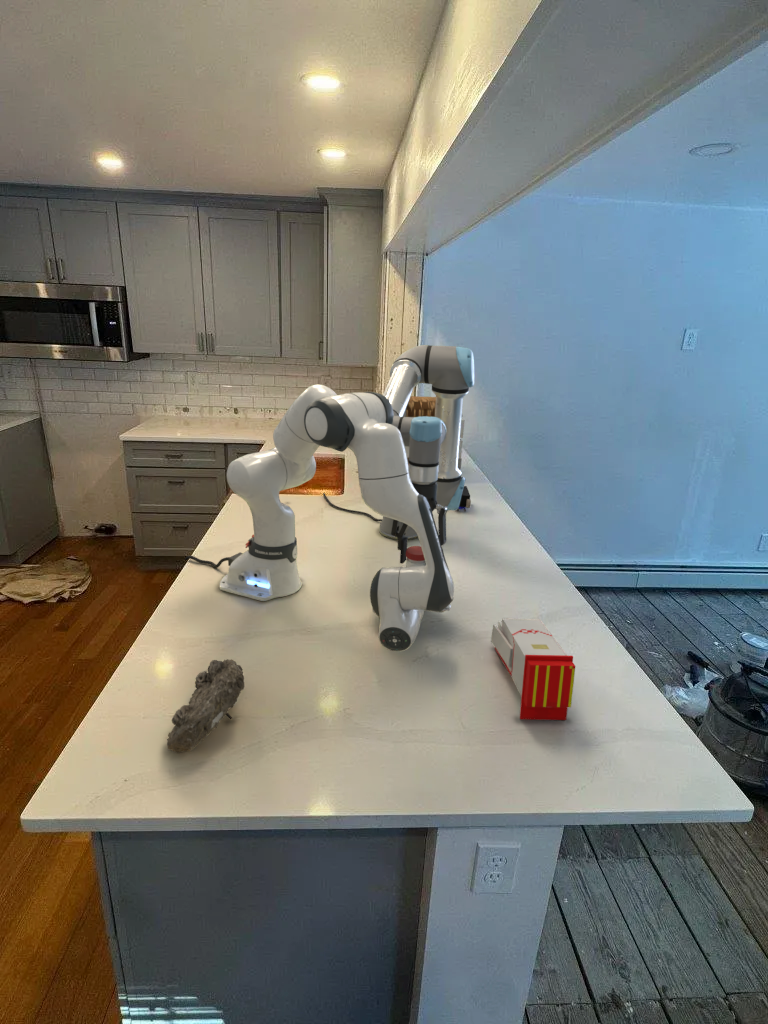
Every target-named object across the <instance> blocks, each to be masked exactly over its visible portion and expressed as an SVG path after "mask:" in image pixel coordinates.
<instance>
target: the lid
mask: <svg viewBox="0 0 768 1024" xmlns="http://www.w3.org/2000/svg"><path fill="white" fill-rule="evenodd" d="M407 558H408V559H410V560H414V561H424V560H425V558H424V555H423V551H422V548H421V545H411V546H407V549H406V559H407Z"/></svg>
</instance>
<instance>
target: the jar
mask: <svg viewBox="0 0 768 1024" xmlns="http://www.w3.org/2000/svg"><path fill="white" fill-rule="evenodd" d="M405 562H406V563H405V567H420V566H426V562H425V560H424V561H414V560H410V559H408V558H407V557H406V561H405Z"/></svg>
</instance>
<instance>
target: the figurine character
mask: <svg viewBox="0 0 768 1024" xmlns="http://www.w3.org/2000/svg"><path fill="white" fill-rule="evenodd" d="M471 501H472V500H471V494H470V491H469V488H468V486H467V485H464V488H463V492H462V496H461V500H460V504H459V508H458V509H457V510H456V511H457V512H460V510H463V511H464V513H466V512H467V509H470V508H471V505H472V504H471ZM466 508H467V509H466Z"/></svg>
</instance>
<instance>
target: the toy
mask: <svg viewBox="0 0 768 1024" xmlns="http://www.w3.org/2000/svg"><path fill="white" fill-rule="evenodd" d="M490 638H491V639H490V642H491V644H492V646H493V647H494V650H495V652H496V654H497V655H498V657H499V659H500V660H501V662H502V664H503V666H504V667H505V669H506V671H507V672H508V674H509V676H510V677H511V679H512V681H513V683H514V685H515V688H516V690H517V691H518V693H519V695H520V697H521V698H520V710H519V719H520V720H534V721H535V720H539V721H567V716H568V708H572V701H573V692H574V684H575V674H576V673H575V672H576V665H575V663H574V656H573V655H568V654H567V653H566V652H565V650H564V649H563V648H562V646H561V645H560V644H559V643H558V641H557V640H556V639H555V637H554V636H553V634H552V633H551V632H550V631H549V629H548V628H547V626H546V624H545V623H543V621H542V620H541V619H540V618H505V617H503V618H501V620H498V622H497V624H495V623H493V624H492V632H491V637H490Z"/></svg>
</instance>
